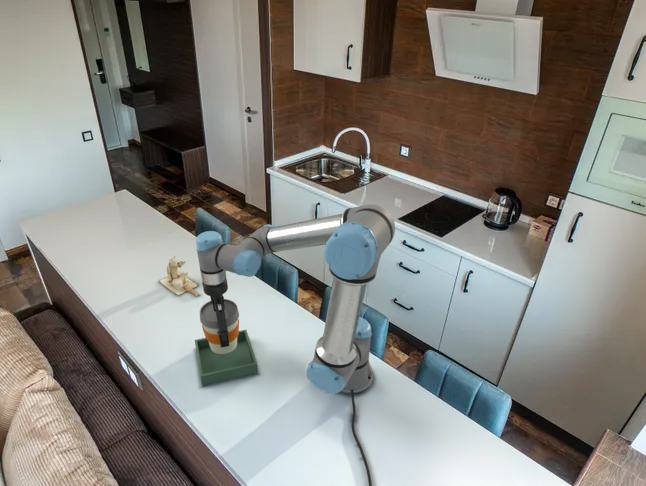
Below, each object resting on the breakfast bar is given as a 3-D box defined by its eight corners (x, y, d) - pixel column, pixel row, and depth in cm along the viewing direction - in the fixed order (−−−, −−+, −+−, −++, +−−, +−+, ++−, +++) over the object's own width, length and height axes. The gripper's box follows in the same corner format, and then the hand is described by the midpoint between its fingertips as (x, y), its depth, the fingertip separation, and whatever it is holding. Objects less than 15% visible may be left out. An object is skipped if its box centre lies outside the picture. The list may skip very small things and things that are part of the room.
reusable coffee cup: (227, 328, 160) (223, 293, 152) (249, 344, 153) (246, 309, 145) (197, 345, 153) (191, 309, 145) (219, 363, 146) (213, 327, 137)
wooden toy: (158, 281, 200) (152, 254, 192) (179, 272, 206) (174, 246, 198) (185, 302, 187) (179, 274, 179) (206, 292, 192) (202, 265, 185)
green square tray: (258, 373, 152) (257, 363, 149) (202, 386, 147) (200, 376, 145) (247, 339, 167) (246, 329, 164) (196, 349, 162) (194, 339, 160)
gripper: (233, 300, 130) (239, 355, 141) (220, 258, 149) (227, 309, 161) (207, 304, 128) (215, 360, 139) (197, 261, 147) (206, 313, 159)
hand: (222, 333), depth 150 cm, fingers closed on reusable coffee cup, 12 cm apart
